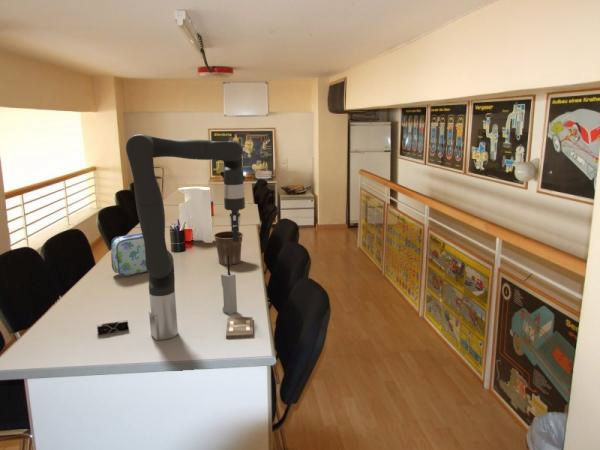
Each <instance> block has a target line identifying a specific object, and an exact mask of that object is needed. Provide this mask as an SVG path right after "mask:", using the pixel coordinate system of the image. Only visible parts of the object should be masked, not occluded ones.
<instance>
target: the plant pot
mask: <svg viewBox="0 0 600 450" xmlns="http://www.w3.org/2000/svg"><path fill="white" fill-rule="evenodd" d="M243 237H244V233H243V232H241V231H239V242H233V236H232V231H231V230H227V231H226V230H225V231H220V232H216V233H215V234H214V235H213V238H214V240H215V245H216V250H217V251H216V252H217V256H218V257H217V259H218V263H219V264H221V265H224V266H228V258H227V256H229V266H233V265H234V264H235V265H237V264H239V263H241V259H242V257H241V256H242V242H243Z"/></svg>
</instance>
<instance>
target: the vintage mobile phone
mask: <svg viewBox="0 0 600 450" xmlns="http://www.w3.org/2000/svg"><path fill="white" fill-rule="evenodd" d="M227 258H228V265H227V272H223V273H220V278H221V279H220V281H221V286H222V293H223V294H222V297H223V305H222V312H223V313H225V314H228V315H233V314H235V313H237V312H238V306H237V305H238V302H237V279H236V278H237V277H236V274H235V273H232V272H231V271H230V270H231V268H230V267H231V265H229V256H227Z"/></svg>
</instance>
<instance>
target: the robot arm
mask: <svg viewBox="0 0 600 450" xmlns="http://www.w3.org/2000/svg"><path fill="white" fill-rule="evenodd" d="M125 152H126V155H127V158H128V162H129V165H130V169H131V172H132V173H131V174H132V178H133V190H134V191H133V192H134V198H135V204H136V205H135V206H136V211H137V213H136V214H137V217H138V221H139V222H138V223H139V226H140V230H141V233H142V235H143V239H144V245H145V259H146V269H147V273H148V293H149V295H148V296H149V307H150V311H148V314H149V316H148V317H149V327H150V328H149V329H150V335H151V336H152V337H153V338H154V339H155V340H156V341H160V340H162V341H163V340H169V339H173V338H174V337H176V336H177V335H178V334H179V330H178V329H179V327H178V318H177V317H178V316H177V314H178V313H177V303H176V288H175V285H176V284H175V264H174V262H175V261H174V257H173V255H172V253H171V252H170V251H169V250H168V247H167V243H166V214H165V205H164V200H163V196H162V193H161V189H160V186H159V183H158V180H157V177H156V174H155V165H154V159H155V158H168V157H169V158H181V159H184V160H185V159H187V160H197V161H198V160H201V161H203V160H204V161H211V160H212V161H213V160H214V161H220V162H221V161H223V203H224V204H223V205H224V210H226V211H230V212H231V213H229V220H230V221H229V224H230V227H231V228H230V229H231V230H230V231H232V236H233V242H239V232H240V227H241V217H242V216H241V212H239V211H242V210H244V209H245V208H246V200H245V199H246V196H245V186H244V173H243V172H244V171H243V159H242V157H243V148H242V146H241V144H240V143H239V142H237V141H236V140H228V141H223V140H222V141H218V140H217V141H214V140H209V139H172V138H171V139H170V138H169V139H168V138H161V137H156V136H151V135H148V134H145V133H139V134H138V133H137V134H135V135H132V136H131V137H129V138H128V139H127V141H126V144H125Z"/></svg>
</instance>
